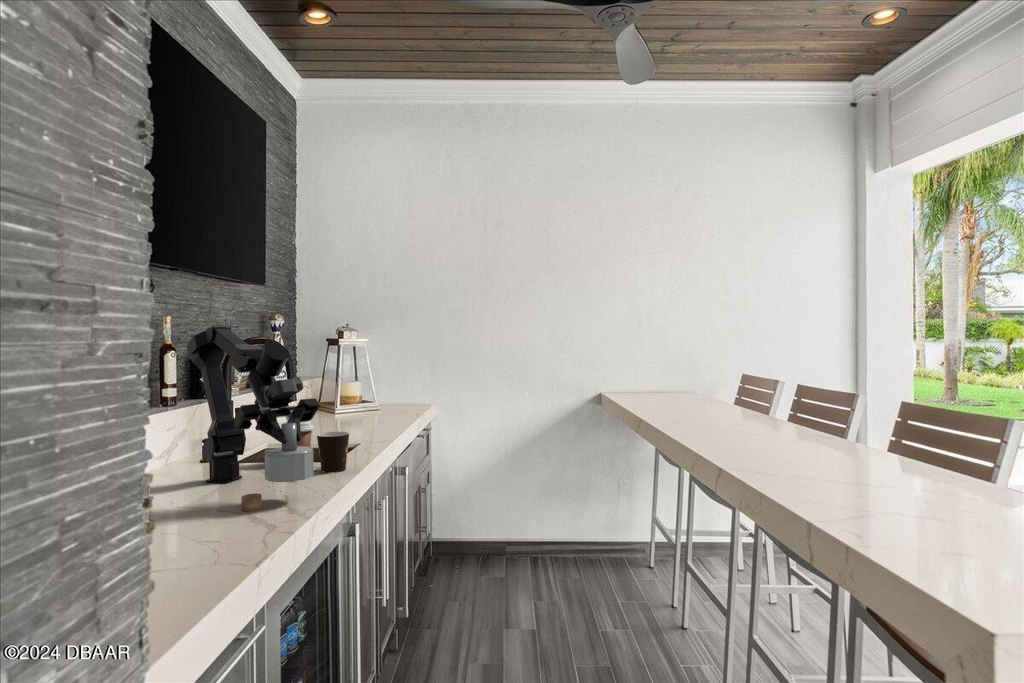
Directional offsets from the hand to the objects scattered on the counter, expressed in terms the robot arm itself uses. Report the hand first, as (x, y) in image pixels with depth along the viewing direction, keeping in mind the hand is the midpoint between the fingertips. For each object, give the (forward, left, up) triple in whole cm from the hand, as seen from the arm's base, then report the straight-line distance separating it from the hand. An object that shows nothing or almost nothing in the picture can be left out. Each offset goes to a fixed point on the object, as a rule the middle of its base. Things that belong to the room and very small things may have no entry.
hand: (292, 441), depth 139 cm
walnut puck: (-5, -7, -14) cm, 16 cm away
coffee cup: (-24, +39, -14) cm, 48 cm away
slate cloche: (-1, +1, -8) cm, 8 cm away
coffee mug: (-8, +33, -14) cm, 37 cm away
